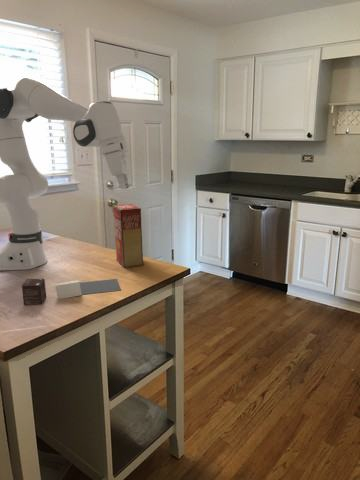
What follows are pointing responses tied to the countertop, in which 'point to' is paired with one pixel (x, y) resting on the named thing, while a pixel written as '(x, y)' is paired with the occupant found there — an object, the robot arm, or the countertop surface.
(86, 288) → the mat
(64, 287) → the tile
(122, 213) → the food packaging
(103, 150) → the robot arm
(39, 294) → the box
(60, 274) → the countertop surface
